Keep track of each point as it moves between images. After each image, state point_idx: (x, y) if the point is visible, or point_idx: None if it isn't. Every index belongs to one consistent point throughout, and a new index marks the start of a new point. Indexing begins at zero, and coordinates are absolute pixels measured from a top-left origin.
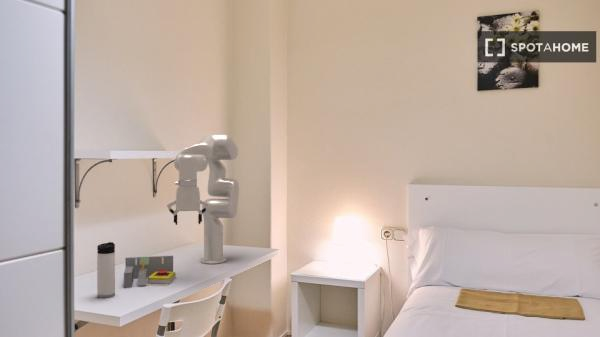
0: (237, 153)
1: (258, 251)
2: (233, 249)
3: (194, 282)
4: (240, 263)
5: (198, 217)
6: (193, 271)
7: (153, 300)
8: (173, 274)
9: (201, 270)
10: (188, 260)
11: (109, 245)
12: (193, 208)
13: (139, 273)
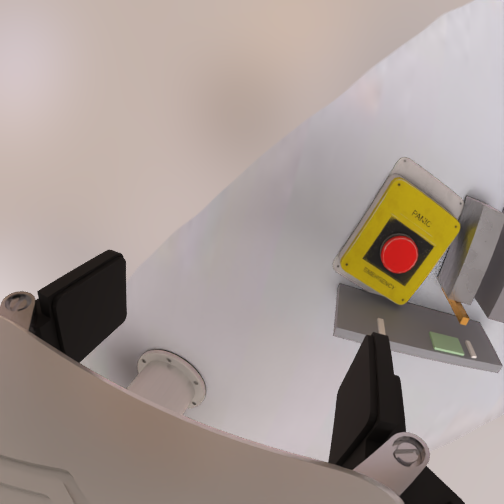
0: None
1: None
2: None
3: (292, 153)
4: None
5: (84, 324)
6: (253, 309)
7: (466, 14)
8: (357, 236)
9: (224, 307)
10: (235, 420)
11: None
12: (13, 362)
13: (501, 222)
